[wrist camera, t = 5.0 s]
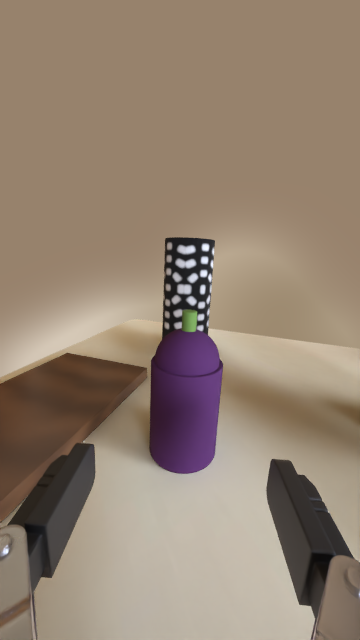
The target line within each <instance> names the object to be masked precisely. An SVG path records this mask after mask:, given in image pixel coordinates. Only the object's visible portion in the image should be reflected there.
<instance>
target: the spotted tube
mask: <svg viewBox="0 0 360 640" xmlns="http://www.w3.org/2000/svg"><path fill="white" fill-rule="evenodd" d="M214 246H215V241H214V240H210V239H200V238H166V239H165V265H164V301H163V332H162V339H163V338H164V337H165V336H166V335H168V334H169V333H170V332H172V331H174V330H177V329H180V328H182V311H183V310H195V311H197V325H196V329H197V330H200V331H202V332H204V333H205V334H207V335H208V324H209V311H210V299H211V285H212V284H211V283H212V271H213V259H214Z"/></svg>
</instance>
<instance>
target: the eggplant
mask: <svg viewBox="0 0 360 640" xmlns="http://www.w3.org/2000/svg"><path fill="white" fill-rule="evenodd" d="M196 325H197V311H195V310H183V311H182V328H180V329H177V330H174V331H172V332H170V333H169V334H168V335H166V336H165V337H164V338H163V339H162V341H161V342H160V344H159V345H158V348H157V350H156V354H155V356H154V357H153V358H152V360H151V398H150V453H151V456H152V458H153V459H154V461H155V462H156V463H157V464H158V465H159V466H161V467H162V468H164V469H166V470H168V471H171V472H175V473H182V474H187V473H193V472H197V471H200V470H202V469H204V468H205V467H207V466H208V465H209V464H210V463H211V461H212V460H213V458H214V454H215V445H216V434H217V424H218V413H219V403H220V392H221V381H222V371H223V363H222V361H221V360H220V358H219V352H218V349H217V347H216V345H215V343H214V341H213V340H212V339H211V338H210V337H209V336H208V335H207V334H205V333H204V332H202V331H200V330H197V329H196Z"/></svg>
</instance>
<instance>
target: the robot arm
mask: <svg viewBox="0 0 360 640" xmlns="http://www.w3.org/2000/svg"><path fill="white" fill-rule="evenodd" d="M94 479H95V450H94V445H93V444H85V443H76V444H75V445H74V447H73V448H72V450H71V451H70V453H69V454H68V455H61V456H60V457H58V458H57V459H56V460H55V461H53V462H52V463H51V464H50V465H49V467H48V468H47V470H46V471H45V473H44V474H43V477H41V478H40V480H39V481H38V483H37V485H36V486H35V487H34V488H33V490H32V491H31V492H30V494H29V495H28V497H27V498H26V500H25V501H24V502H23V504H22V505H21V507H20V508H19V510H18V511H17V512H16V514H15V515H14V517H13V518H12V520H11V521H10V522H9V524H8V525H7V526H5V527H2V528H0V640H38V635H37V623H36V611H35V599H34V591H35V588H36V586H37V584H38V582H39V580H40V578H41V577H47V578H52V576H53V574H54V572H55V569H56V567H57V565H58V563H59V560H60V558H61V556H62V554H63V551H64V549H65V547H66V545H67V542H68V540H69V538H70V536H71V533H72V531H73V529H74V527H75V524H76V522H77V520H78V518H79V516H80V513H81V511H82V509H83V507H84V504H85V502H86V500H87V498H88V495H89V493H90V491H91V489H92V486H93V483H94ZM267 500H268V504H269V508H270V511H271V514H272V517H273V521H274V524H275V527H276V530H277V533H278V537H279V540H280V543H281V546H282V550H283V553H284V556H285V559H286V563H287V566H288V569H289V572H290V576H291V579H292V582H293V585H294V588H295V592H296V595H297V598H298V601H299V605H307V606H311V607H312V610H313V613H314V616H315V622H314V626H313V631H312V635H311V640H360V562H358V561H356V560H355V559H354V557H353V556H352V554H351V552H350V550H349V548H348V547H347V545H346V543H345V541H344V539H343V537H342V535H341V534H340V532H339V530H338V528H337V526H336V524H335V522H334V521H333V519H332V517H331V515H330V513H328V510H327V508H326V506H325V504H324V502H322V498H321V497H320V495H319V493H318V491H317V489H316V487H315V486H314V485H313V484H312V483H311V482H310V481H309V480H308V479H307V478H306V477H305V475H298V474H297V472H296V470H295V468H294V466H293V464H292V462H291V461H289V460H277V459H272V460H271V463H270V469H269V476H268V482H267Z"/></svg>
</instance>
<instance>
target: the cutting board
mask: <svg viewBox="0 0 360 640" xmlns="http://www.w3.org/2000/svg"><path fill="white" fill-rule="evenodd" d="M146 378H147V368H144V367H139V366H134V365H128V364H123V363H118V362H113V361H107V360H102V359H97V358H92V357H86V356H81V355H76V354H70V353H66V354H64V355H62V356H60V357H57V358H55V359H53V360H51V361H49V362H46V363H44V364H42V365H40V366H38V367H36V368H33V369H31V370H29V371H27V372H25V373H23V374H20V375H18V376H16V377H14V378H12V379H9V380H7V381H5V382H3V383H1V384H0V523H1V522H2V521H3V520H4V519H5V518H6V517H7V516H8V515H9V514H10V513H11V512H12V511H13V510H14V509H15V508H16V507H17V506H18V505H19V504H20V503H21V502H22V501H23V500H24V499H25V498H26V497H27V496H28V495H29V494H30V492H31V491H32V490H33V488H34V487H35V486H36V485H37V483H38V481H39V480H40V478H41V477H43V474H44V473H45V471H46V470H47V468H48V467H49V465H50V464H51V463H52V462H53V461H55V460H56V459H57V458H58V457H60V456H61V455H68V454H69V453H70V451H71V450H72V448H73V447H74V445H75V444H76V443H81V442H82V441H83V440H84V439H85V438H86V437H87V436H88V435H89V434H90V433H91V432H92V431H94V430H95V429H96V428H97V427H98V426H99V425H100V424H101V423H102V422H103V421H104V420H105V419H106V418H107V417H108V416H109V415H110V414H111V413H112V412H113V411H114V410H115V409H116V408H117V407H118V406H119V405H120V404H121V403H122V402H123V401H124V400H125V399H126V398H127V397H128V396H129V395H130V394H131V393H132V392H133V391H134V390H135V389H136V388H137V387H138V386H139V385H140V384H141V383H142V382H143V381H144V380H145V379H146Z"/></svg>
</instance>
